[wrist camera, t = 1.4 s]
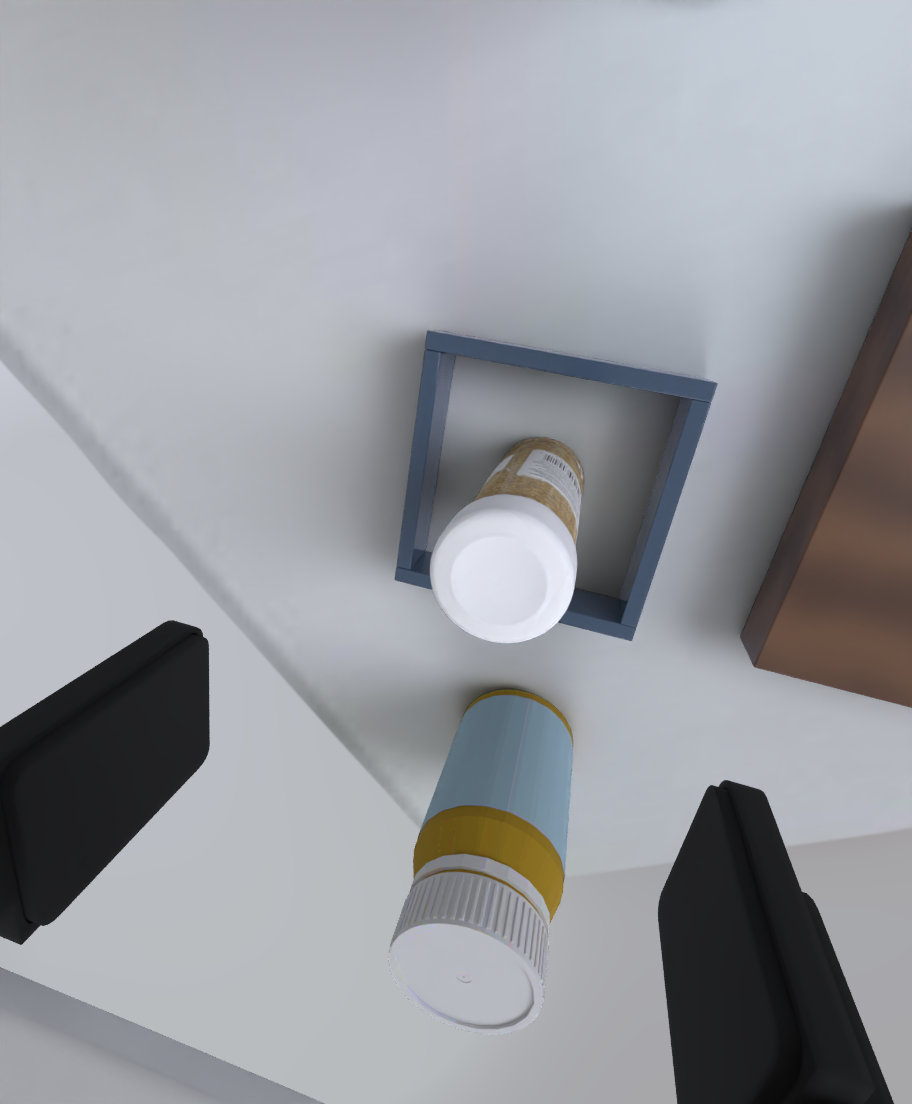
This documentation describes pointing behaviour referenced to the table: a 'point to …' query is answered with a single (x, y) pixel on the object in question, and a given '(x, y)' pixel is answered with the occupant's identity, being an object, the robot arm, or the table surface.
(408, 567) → the blue square frame
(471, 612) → the sprinkles bottle
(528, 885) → the bottle
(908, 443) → the counter board
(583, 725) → the table surface
